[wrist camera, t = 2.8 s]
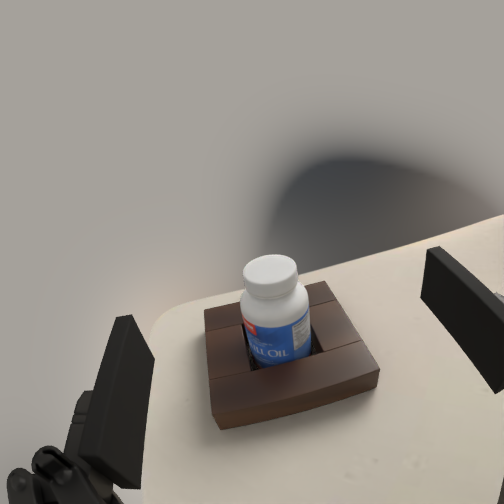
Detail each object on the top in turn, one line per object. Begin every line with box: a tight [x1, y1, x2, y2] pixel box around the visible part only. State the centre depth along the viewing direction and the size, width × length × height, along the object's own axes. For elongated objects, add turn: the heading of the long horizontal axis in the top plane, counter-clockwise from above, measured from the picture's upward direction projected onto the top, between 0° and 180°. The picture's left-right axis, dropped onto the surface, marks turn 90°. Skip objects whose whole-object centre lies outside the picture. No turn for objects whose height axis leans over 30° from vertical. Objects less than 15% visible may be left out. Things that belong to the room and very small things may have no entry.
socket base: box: [204, 281, 380, 430], centre depth 27 cm, size 13×13×2 cm
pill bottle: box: [240, 255, 311, 369], centre depth 26 cm, size 6×5×10 cm
